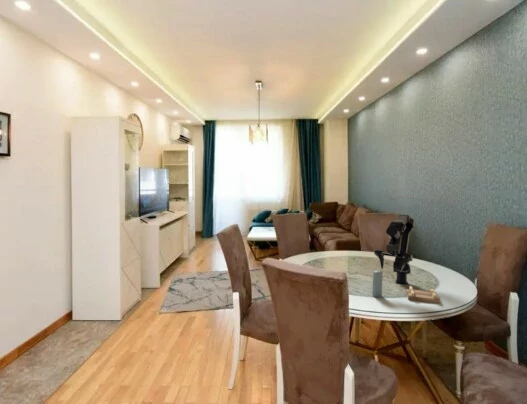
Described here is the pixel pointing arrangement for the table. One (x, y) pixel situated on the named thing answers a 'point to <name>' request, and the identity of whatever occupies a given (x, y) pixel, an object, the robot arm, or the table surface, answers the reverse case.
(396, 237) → the robot arm
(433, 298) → the display plinth
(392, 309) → the table surface
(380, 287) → the spectacles tube
